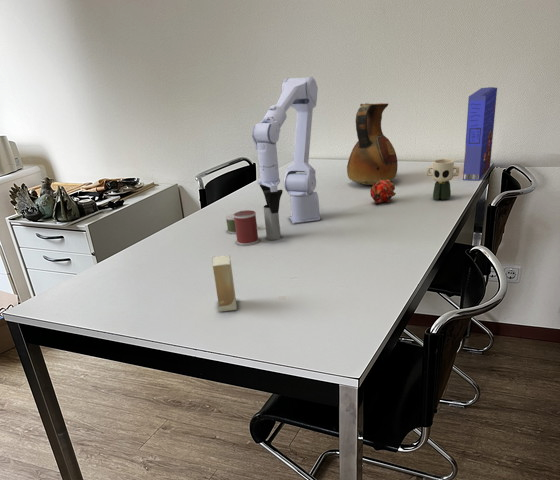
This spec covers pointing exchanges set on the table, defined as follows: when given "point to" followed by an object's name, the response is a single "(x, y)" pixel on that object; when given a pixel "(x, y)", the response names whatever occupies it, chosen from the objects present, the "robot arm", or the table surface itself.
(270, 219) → the planter
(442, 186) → the character mug
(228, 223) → the short can
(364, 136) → the ceramic pitcher
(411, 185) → the table surface
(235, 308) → the cosmetic box
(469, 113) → the cereal box
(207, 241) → the table surface
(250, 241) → the tall can
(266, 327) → the table surface
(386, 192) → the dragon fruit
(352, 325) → the table surface
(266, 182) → the robot arm
